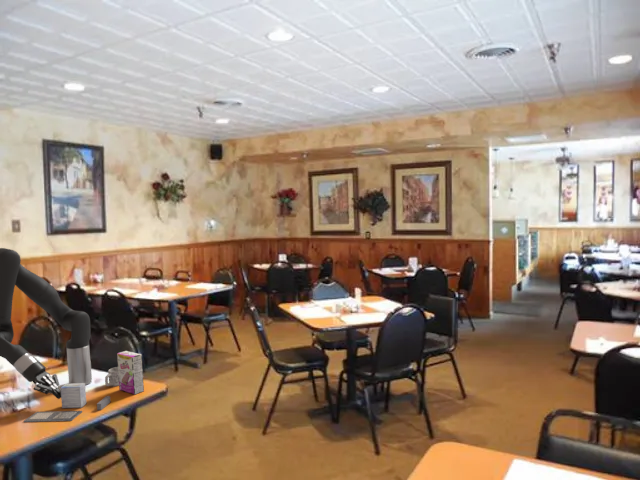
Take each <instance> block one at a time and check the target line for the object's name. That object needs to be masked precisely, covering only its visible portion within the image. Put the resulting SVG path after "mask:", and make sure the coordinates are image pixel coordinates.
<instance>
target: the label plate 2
mask: <svg viewBox="0 0 640 480" xmlns="http://www.w3.org/2000/svg"><path fill="white" fill-rule="evenodd" d="M82 413H83V410H61V411H60V410H59V412H58V413H56V414H55V415H54V416H52V417H51V418H50V419H48V420H47V421H48V422H72V421H73V420H74V419H75V418H77V417H78V416H79V415H80V414H82Z"/></svg>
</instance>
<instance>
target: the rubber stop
mask: <svg viewBox="0 0 640 480" xmlns="http://www.w3.org/2000/svg"><path fill="white" fill-rule="evenodd" d="M110 403H111V396H110V395H105V397H103V398H102V399H101V400H99V401H98V402H97V403H96V409H97V411H103V410H104V408H106V407H107V406H108V405H109V404H110Z"/></svg>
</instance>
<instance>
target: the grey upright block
mask: <svg viewBox="0 0 640 480" xmlns="http://www.w3.org/2000/svg"><path fill="white" fill-rule="evenodd" d="M60 391H61V398H60V399H61V409H77V408H78V409H79V408H84V406H85V405H86V404H87V396H86V395H87V392H86V385H85V383H72V384H69V383H65V384H64V385H62V386H61V387H60Z"/></svg>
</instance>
